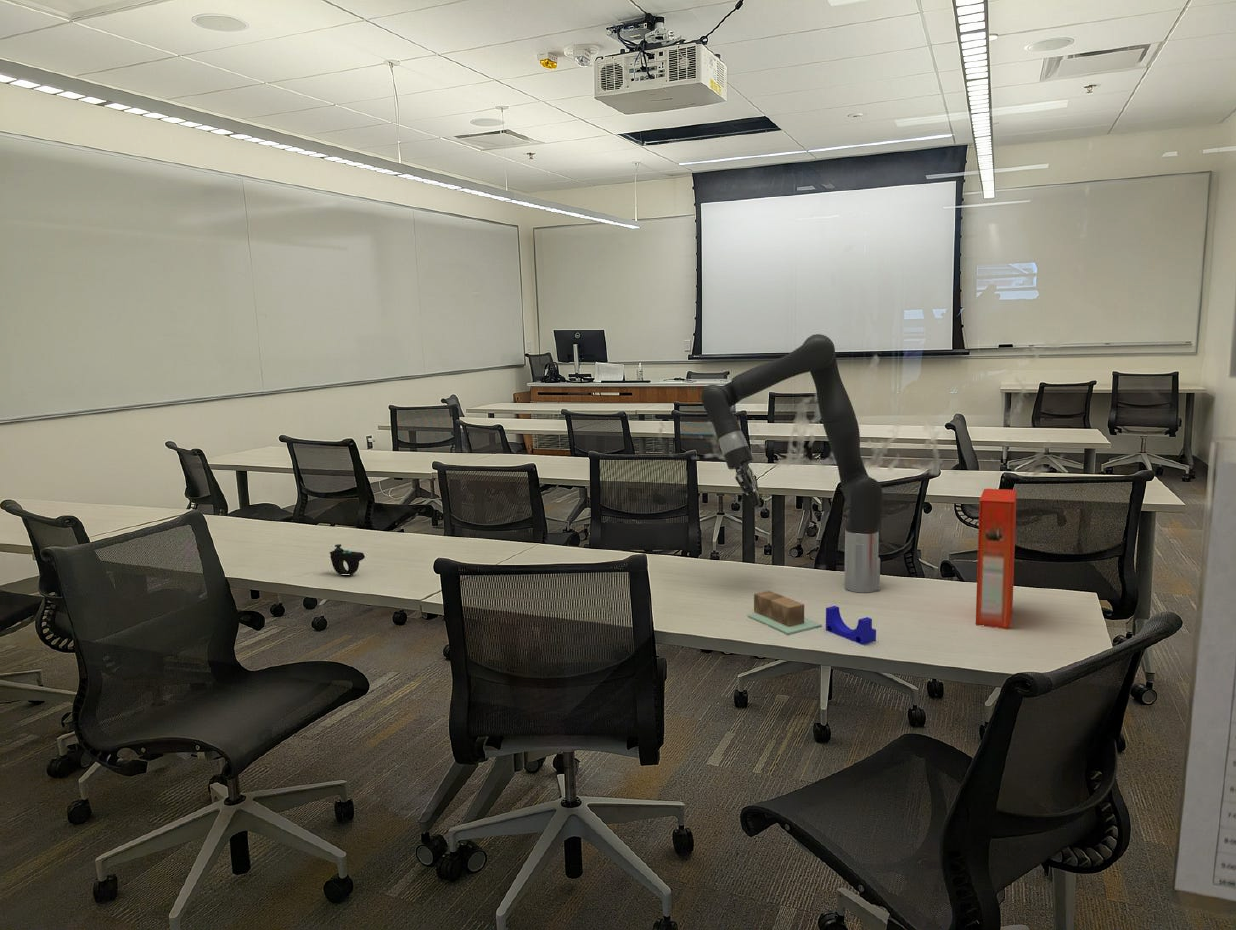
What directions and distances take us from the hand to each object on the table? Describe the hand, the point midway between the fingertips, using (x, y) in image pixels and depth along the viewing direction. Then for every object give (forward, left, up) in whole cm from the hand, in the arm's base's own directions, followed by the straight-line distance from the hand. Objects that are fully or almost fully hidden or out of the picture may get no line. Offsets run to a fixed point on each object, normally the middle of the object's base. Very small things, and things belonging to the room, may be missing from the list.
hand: (757, 506), depth 226 cm
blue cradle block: (-18, +33, -26) cm, 46 cm away
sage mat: (-3, +22, -26) cm, 34 cm away
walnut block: (+1, +15, -23) cm, 27 cm away
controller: (+128, -29, -26) cm, 134 cm away
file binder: (-58, +21, -26) cm, 67 cm away
